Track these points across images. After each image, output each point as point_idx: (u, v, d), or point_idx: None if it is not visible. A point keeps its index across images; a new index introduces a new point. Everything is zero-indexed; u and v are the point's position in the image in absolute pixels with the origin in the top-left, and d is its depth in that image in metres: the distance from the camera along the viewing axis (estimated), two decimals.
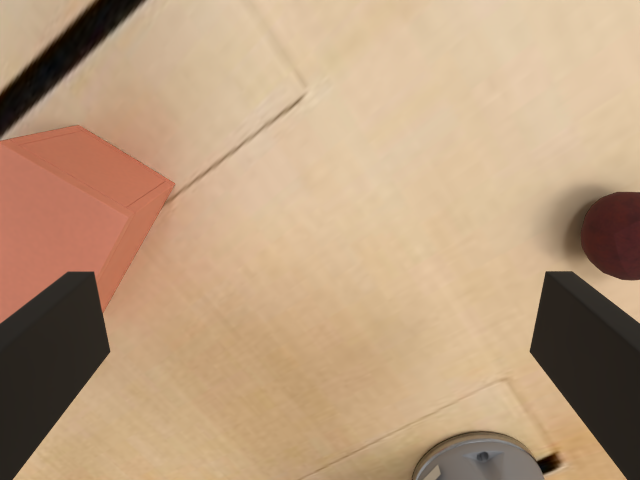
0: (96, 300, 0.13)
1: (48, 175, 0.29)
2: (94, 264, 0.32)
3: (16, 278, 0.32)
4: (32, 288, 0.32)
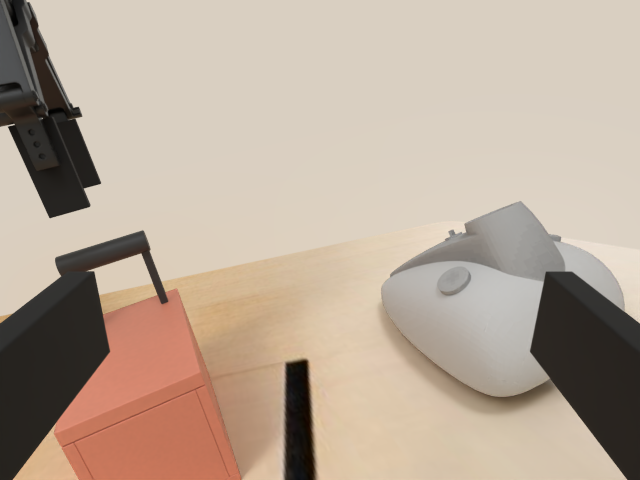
0: (97, 300, 0.13)
1: (146, 391, 0.29)
2: None
3: (132, 340, 0.37)
4: (116, 345, 0.36)
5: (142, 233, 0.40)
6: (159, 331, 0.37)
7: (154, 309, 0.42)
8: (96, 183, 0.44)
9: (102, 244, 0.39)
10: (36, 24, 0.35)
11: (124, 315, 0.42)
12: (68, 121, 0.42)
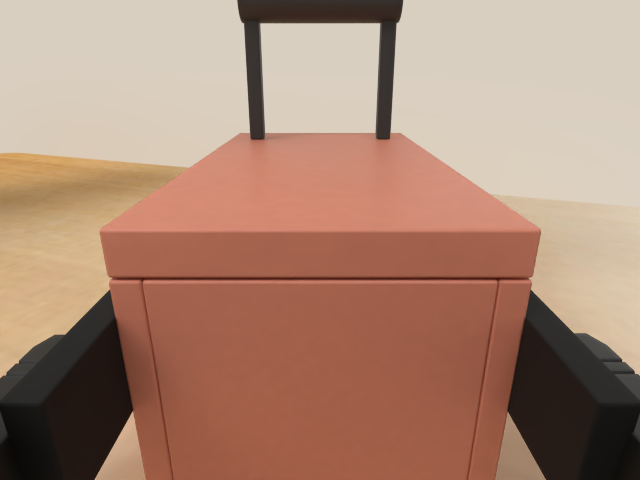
0: None
1: (368, 224, 0.09)
2: (187, 180, 0.14)
3: (323, 157, 0.18)
4: (292, 156, 0.18)
5: None
6: (380, 158, 0.17)
7: (363, 140, 0.22)
8: None
9: None
10: None
11: (309, 137, 0.23)
12: None
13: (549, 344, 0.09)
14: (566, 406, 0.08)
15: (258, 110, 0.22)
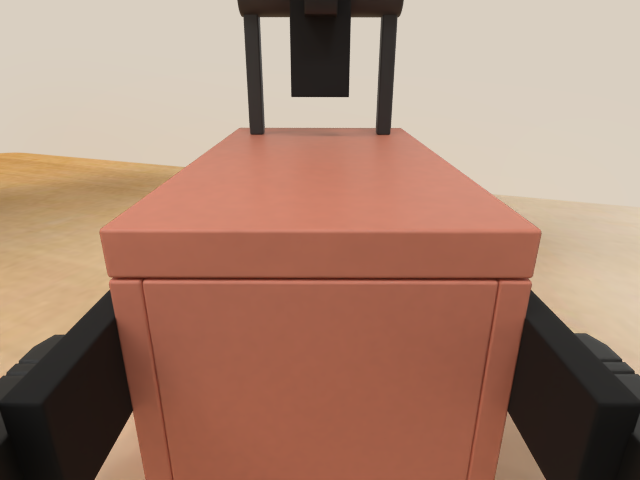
0: None
1: (369, 225, 0.09)
2: (186, 178, 0.14)
3: (324, 153, 0.17)
4: (292, 152, 0.18)
5: None
6: (380, 155, 0.17)
7: (363, 136, 0.22)
8: None
9: None
10: None
11: (309, 133, 0.23)
12: None
13: (549, 344, 0.09)
14: (566, 406, 0.08)
15: (258, 105, 0.22)
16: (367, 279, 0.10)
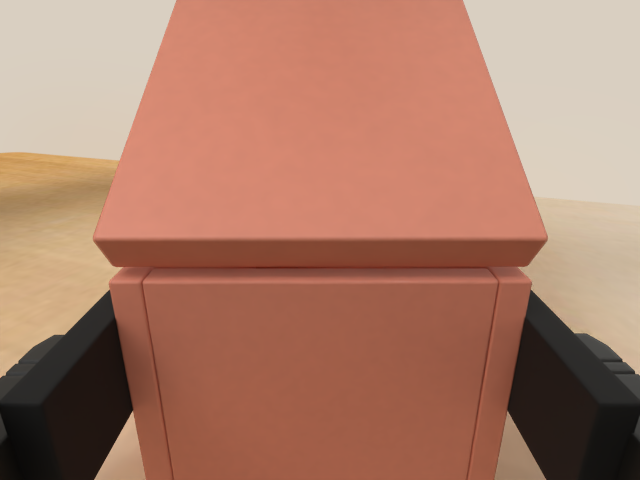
0: None
1: (371, 229, 0.09)
2: (163, 94, 0.12)
3: (324, 9, 0.14)
4: (284, 7, 0.14)
5: None
6: (395, 14, 0.14)
7: None
8: None
9: None
10: None
11: None
12: None
13: (549, 344, 0.09)
14: (567, 406, 0.08)
15: None
16: (367, 278, 0.10)
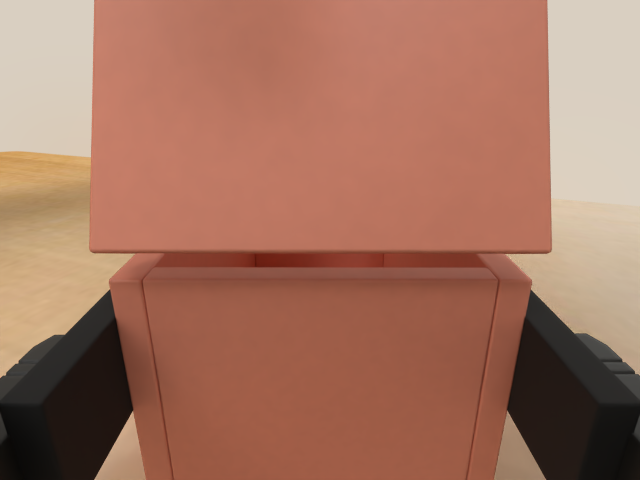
0: None
1: (372, 240, 0.09)
2: (119, 27, 0.09)
3: None
4: None
5: None
6: None
7: None
8: None
9: None
10: None
11: None
12: None
13: (549, 344, 0.09)
14: (566, 406, 0.08)
15: None
16: (367, 277, 0.10)
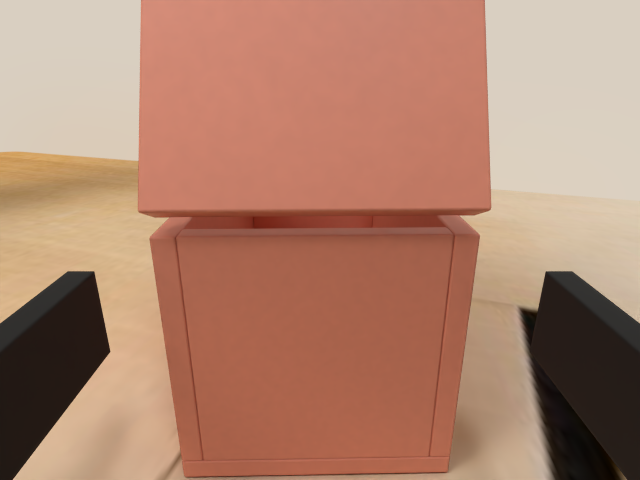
0: (96, 300, 0.13)
1: (355, 201, 0.12)
2: (160, 41, 0.12)
3: None
4: None
5: None
6: None
7: None
8: None
9: None
10: None
11: None
12: None
13: None
14: None
15: None
16: (352, 234, 0.13)
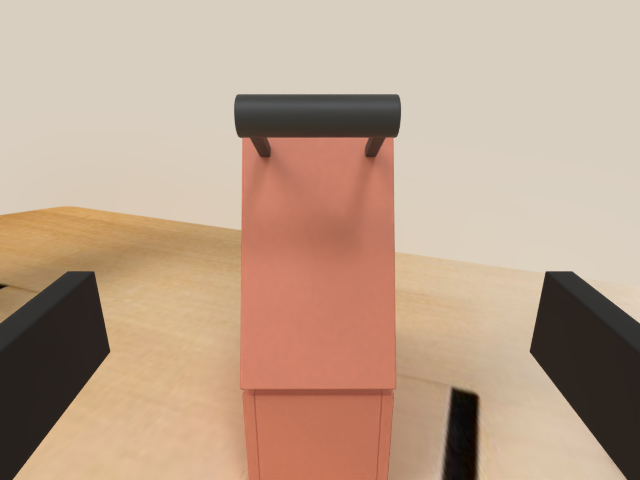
0: (97, 300, 0.12)
1: (335, 385, 0.26)
2: (250, 312, 0.27)
3: (320, 243, 0.27)
4: (299, 241, 0.27)
5: (397, 120, 0.20)
6: (356, 247, 0.27)
7: (353, 163, 0.27)
8: None
9: (321, 115, 0.20)
10: None
11: (309, 146, 0.27)
12: None
13: None
14: None
15: (265, 151, 0.26)
16: (335, 394, 0.27)
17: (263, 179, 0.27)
